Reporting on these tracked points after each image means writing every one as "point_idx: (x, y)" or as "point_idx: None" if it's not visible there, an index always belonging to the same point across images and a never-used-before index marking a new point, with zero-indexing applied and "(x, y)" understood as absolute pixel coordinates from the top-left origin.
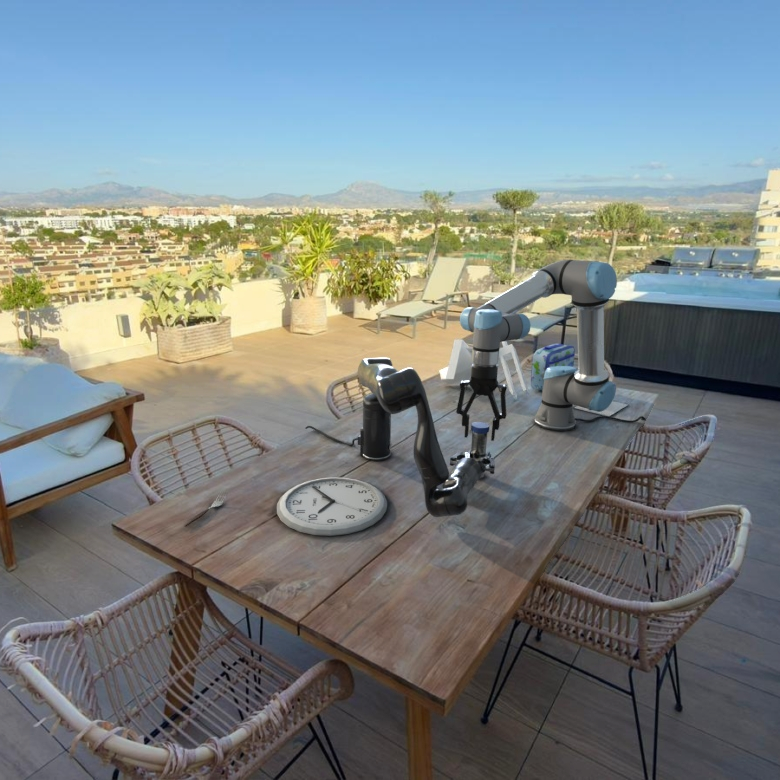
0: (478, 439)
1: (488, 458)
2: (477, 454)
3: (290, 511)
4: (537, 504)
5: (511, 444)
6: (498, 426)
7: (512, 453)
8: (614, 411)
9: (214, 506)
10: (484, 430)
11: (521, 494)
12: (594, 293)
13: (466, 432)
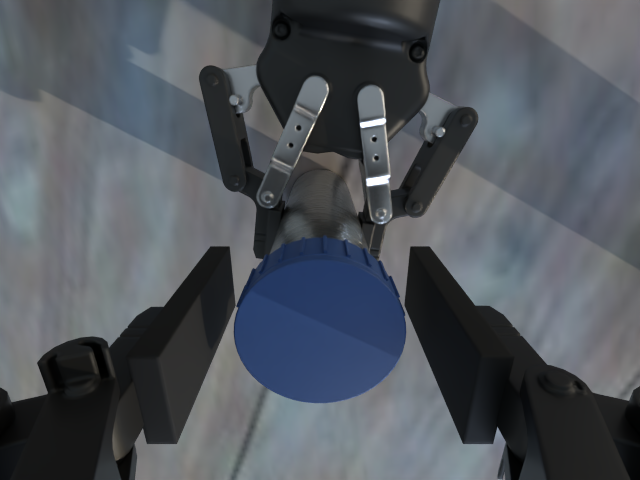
0: (321, 226)
1: (258, 192)
2: (320, 196)
3: None
4: (25, 3)
5: (235, 463)
6: (132, 329)
7: (220, 406)
8: None
9: None
10: (270, 262)
11: (113, 83)
12: None
13: (428, 264)
